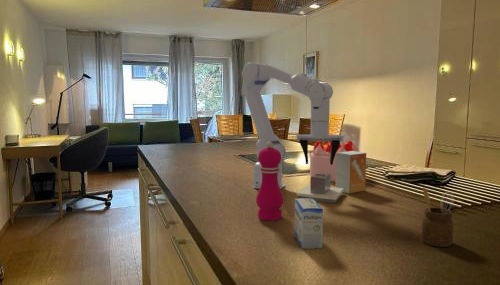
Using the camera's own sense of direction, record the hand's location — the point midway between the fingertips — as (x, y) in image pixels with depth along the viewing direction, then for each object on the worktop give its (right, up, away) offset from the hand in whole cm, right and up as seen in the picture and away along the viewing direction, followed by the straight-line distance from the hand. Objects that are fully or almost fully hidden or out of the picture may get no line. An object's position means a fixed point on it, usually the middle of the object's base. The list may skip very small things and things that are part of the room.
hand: (319, 163), depth 115 cm
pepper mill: (-17, -13, -20) cm, 29 cm away
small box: (+12, -10, +7) cm, 17 cm away
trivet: (0, -10, 0) cm, 10 cm away
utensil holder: (+18, -15, -38) cm, 44 cm away
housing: (0, -9, -1) cm, 9 cm away
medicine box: (-10, -15, -36) cm, 41 cm away
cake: (+12, -7, +29) cm, 32 cm away
